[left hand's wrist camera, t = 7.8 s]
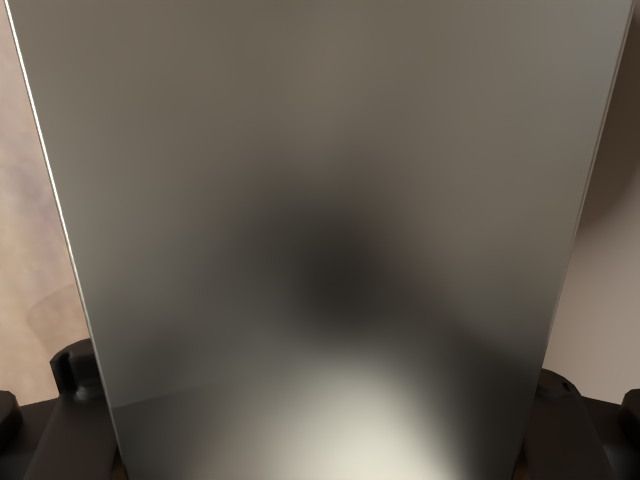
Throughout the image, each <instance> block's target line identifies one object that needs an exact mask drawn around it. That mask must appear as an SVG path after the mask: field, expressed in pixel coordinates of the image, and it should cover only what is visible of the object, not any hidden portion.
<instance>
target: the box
mask: <svg viewBox="0 0 640 480" xmlns="http://www.w3.org/2000/svg"><path fill="white" fill-rule="evenodd" d="M635 3H636V0H4V4H5V8H6V12H7V16H8V19H9V23H10V27H11V31H12V35H13V39H14V43H15V47H16V51H17V54H18V58H19V62H20V66H21V70H22V74H23V78H24V82H25V86H26V89H27V93H28V97H29V101H30V105H31V109H32V113H33V117H34V121H35V124H36V128H37V132H38V136H39V140H40V144H41V148H42V152H43V156H44V160H45V163H46V167H47V171H48V175H49V179H50V183H51V187H52V191H53V195H54V198H55V202H56V206H57V210H58V214H59V218H60V222H61V226H62V230H63V233H64V237H65V241H66V245H67V249H68V253H69V257H70V261H71V265H72V268H73V272H74V276H75V280H76V284H77V288H78V292H79V296H80V300H81V303H82V307H83V311H84V315H85V319H86V323H87V327H88V331H89V335H90V338H91V342H92V346H93V350H94V354H95V358H96V362H97V366H98V370H99V374H100V377H101V381H102V385H103V389H104V393H105V397H106V401H107V405H108V409H109V412H110V416H111V420H112V424H113V428H114V432H115V436H116V440H117V444H118V447H119V451H120V455H121V459H122V463H123V467H124V471H125V475H126V479H127V480H513V477H514V474H515V470H516V466H517V462H518V458H519V454H520V450H521V446H522V442H523V439H524V435H525V431H526V427H527V423H528V419H529V415H530V411H531V407H532V404H533V400H534V396H535V392H536V388H537V384H538V380H539V376H540V372H541V369H542V365H543V361H544V357H545V353H546V349H547V345H548V341H549V337H550V334H551V330H552V326H553V322H554V318H555V314H556V310H557V306H558V302H559V299H560V295H561V291H562V287H563V283H564V279H565V275H566V271H567V267H568V264H569V260H570V256H571V252H572V248H573V244H574V240H575V236H576V233H577V229H578V225H579V221H580V217H581V213H582V209H583V205H584V201H585V198H586V194H587V190H588V186H589V182H590V178H591V174H592V170H593V166H594V162H595V159H596V155H597V151H598V147H599V143H600V139H601V135H602V131H603V128H604V124H605V120H606V116H607V112H608V108H609V104H610V100H611V96H612V93H613V89H614V85H615V81H616V77H617V73H618V69H619V65H620V61H621V58H622V54H623V50H624V46H625V42H626V38H627V34H628V30H629V26H630V23H631V19H632V15H633V11H634V7H635Z"/></svg>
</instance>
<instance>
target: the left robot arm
mask: <svg viewBox="0 0 640 480" xmlns="http://www.w3.org/2000/svg"><path fill="white" fill-rule="evenodd" d="M50 365H51V368H52V372H53V375H54V378H55V381H56V385H57V388H58V391H59V394H60V395H59V397H58V398H55V399H51V400H47V401H42V402H38V403H33V404H29V405H24V406H20V407H19V405H18V403H17V400H16V397H15V395H13V394H12V393H11V392H9V391H1V390H0V480H127V479H126V475H125V471H124V467H123V463H122V459H121V455H120V451H119V447H118V444H117V440H116V436H115V432H114V428H113V424H112V420H111V416H110V412H109V409H108V405H107V401H106V397H105V393H104V389H103V385H102V381H101V377H100V374H99V370H98V366H97V362H96V358H95V354H94V350H93V346H92V342H91V338H88V339H84V340H80V341H78V342H76V343H73V344H71V345H69V346H67V347H65V348H64V349H62V350H61V351H59V352H58V353H57V354H56V355H55V356H54V357H53V358H52V359H51V361H50ZM513 480H640V389H632V390H630V391H629V392H627V393H626V394H625V396H624V399H623V401H622V404H621V405H619V404H614V403H610V402H605V401H600V400H596V399H592V398H587V397H584V396H581V394H580V393H579V391H578V390H577V388H576V387H575V386H574V385H573V384H572V383H571V382H569V381H568V380H567V379H566V378H564V377H563V376H561V375H559V374H557V373H555V372H553V371H550V370H547V369H543V368H542V369H541V372H540V376H539V380H538V384H537V388H536V392H535V396H534V400H533V404H532V407H531V411H530V415H529V419H528V423H527V427H526V431H525V435H524V439H523V442H522V446H521V450H520V454H519V458H518V462H517V466H516V470H515V474H514V477H513Z"/></svg>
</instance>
